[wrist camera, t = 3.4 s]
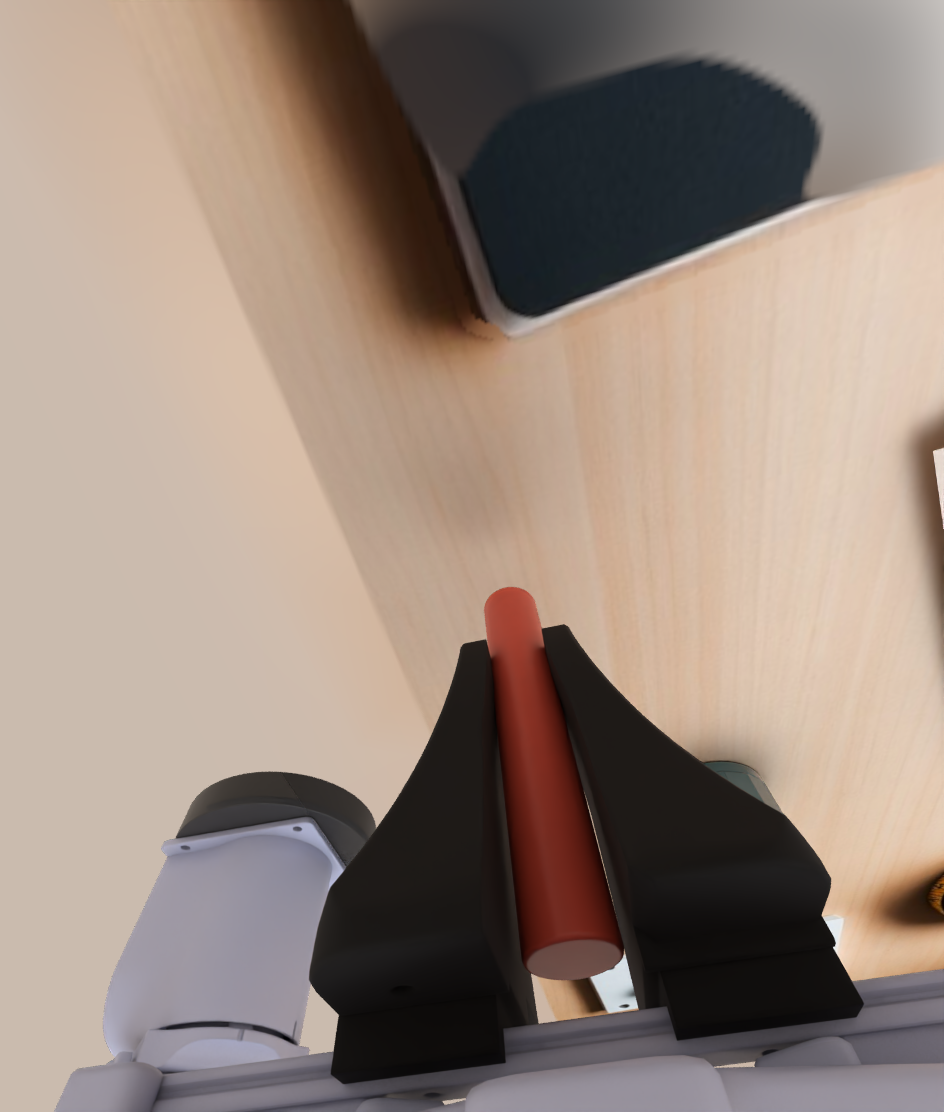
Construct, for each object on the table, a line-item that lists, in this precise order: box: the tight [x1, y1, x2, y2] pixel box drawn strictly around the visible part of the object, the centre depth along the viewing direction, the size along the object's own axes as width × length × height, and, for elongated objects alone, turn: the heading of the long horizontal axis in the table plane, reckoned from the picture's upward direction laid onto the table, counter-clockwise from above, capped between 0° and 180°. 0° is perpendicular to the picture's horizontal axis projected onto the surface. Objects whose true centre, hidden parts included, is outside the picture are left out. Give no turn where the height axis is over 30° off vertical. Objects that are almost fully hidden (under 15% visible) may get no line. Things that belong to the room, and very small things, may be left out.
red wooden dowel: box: [484, 587, 624, 980], centre depth 11 cm, size 2×2×9 cm
